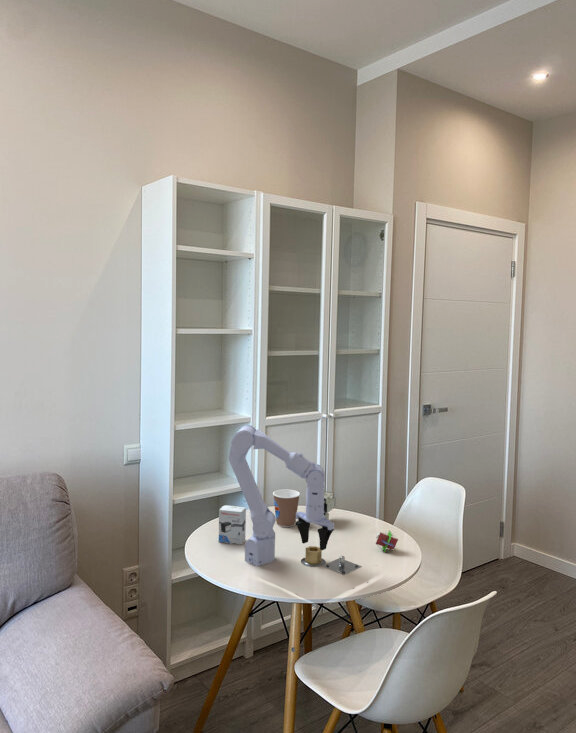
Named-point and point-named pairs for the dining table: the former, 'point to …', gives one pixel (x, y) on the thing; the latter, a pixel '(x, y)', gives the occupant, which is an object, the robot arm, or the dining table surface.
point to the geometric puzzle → (386, 540)
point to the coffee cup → (286, 507)
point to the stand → (313, 565)
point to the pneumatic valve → (328, 503)
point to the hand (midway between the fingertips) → (313, 545)
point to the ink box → (232, 524)
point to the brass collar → (313, 555)
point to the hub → (342, 566)
